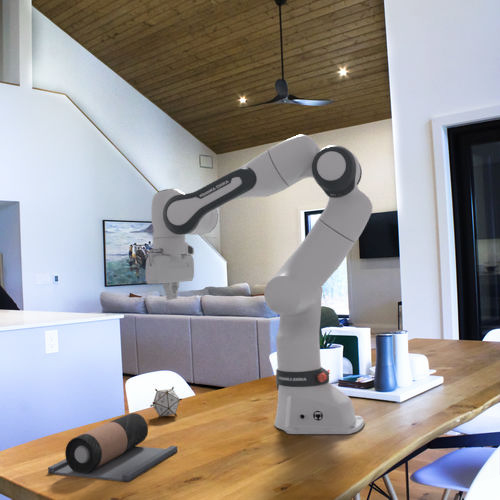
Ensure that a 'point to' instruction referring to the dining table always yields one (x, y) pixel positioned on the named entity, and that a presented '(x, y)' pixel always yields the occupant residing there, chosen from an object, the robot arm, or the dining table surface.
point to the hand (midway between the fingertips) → (171, 299)
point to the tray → (120, 464)
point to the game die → (166, 402)
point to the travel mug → (105, 442)
